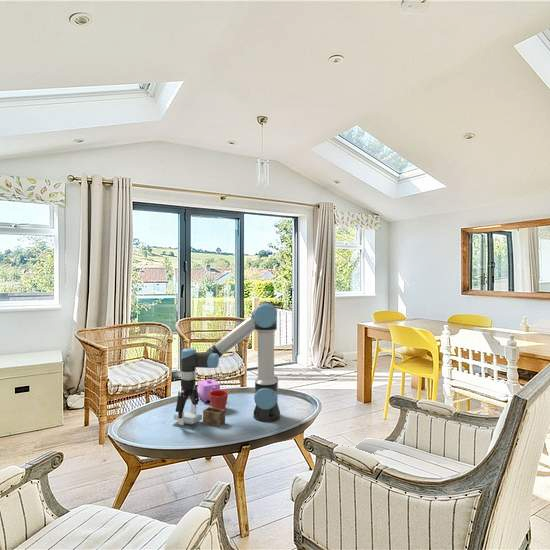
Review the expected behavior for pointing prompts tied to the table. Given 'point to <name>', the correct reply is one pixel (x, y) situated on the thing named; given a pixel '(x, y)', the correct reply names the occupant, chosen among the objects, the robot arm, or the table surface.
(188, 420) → the lid
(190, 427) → the plate
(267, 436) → the table surface
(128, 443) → the table surface
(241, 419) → the table surface
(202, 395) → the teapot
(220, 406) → the flower pot
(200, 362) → the robot arm
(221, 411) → the tea box
